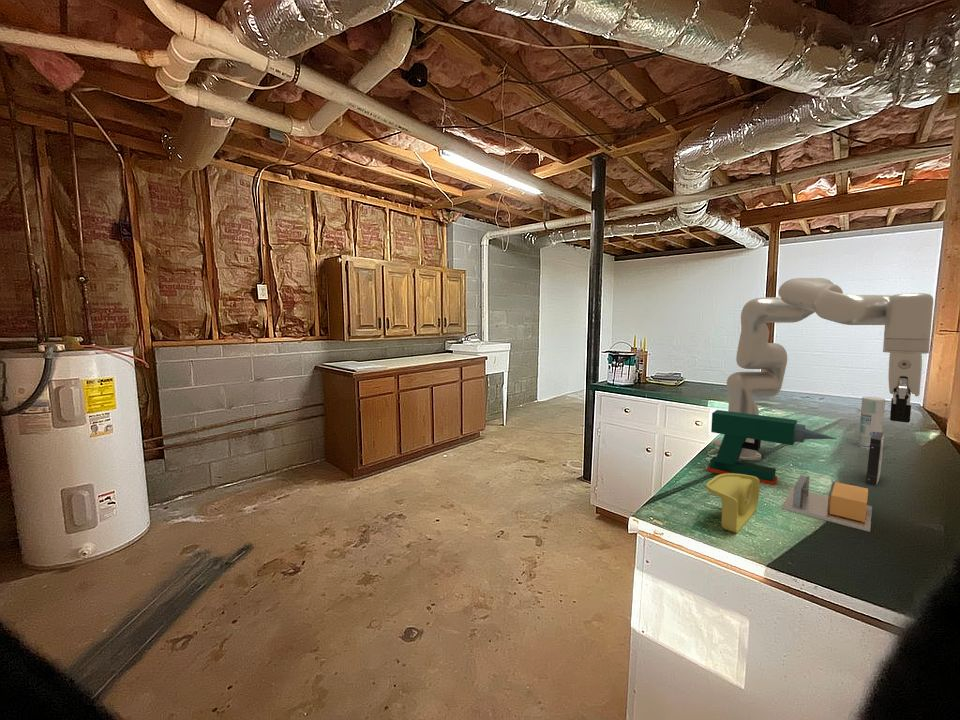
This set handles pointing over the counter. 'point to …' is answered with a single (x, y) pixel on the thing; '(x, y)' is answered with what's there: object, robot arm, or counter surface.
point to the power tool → (757, 429)
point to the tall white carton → (870, 419)
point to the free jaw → (848, 501)
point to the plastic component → (735, 498)
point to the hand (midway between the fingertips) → (899, 418)
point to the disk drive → (875, 458)
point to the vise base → (819, 506)
